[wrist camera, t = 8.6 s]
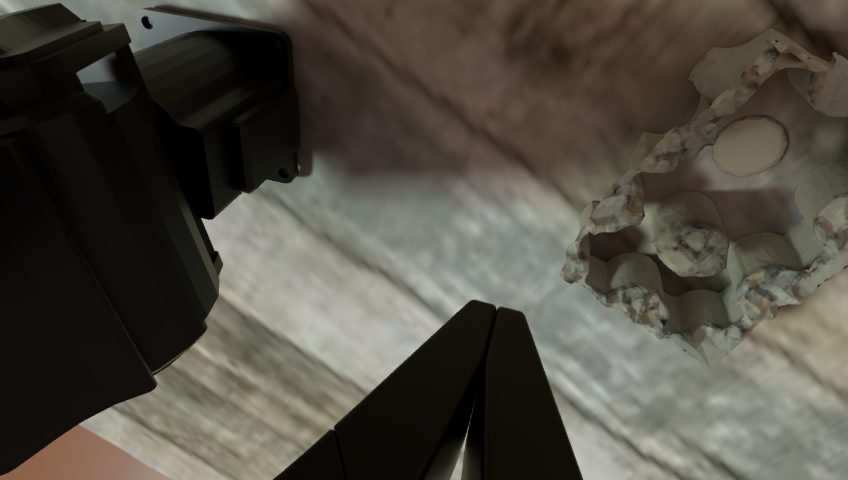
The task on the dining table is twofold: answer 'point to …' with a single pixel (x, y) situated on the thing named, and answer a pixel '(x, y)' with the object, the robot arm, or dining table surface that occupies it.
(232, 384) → the dining table surface
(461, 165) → the dining table surface
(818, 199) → the egg carton
